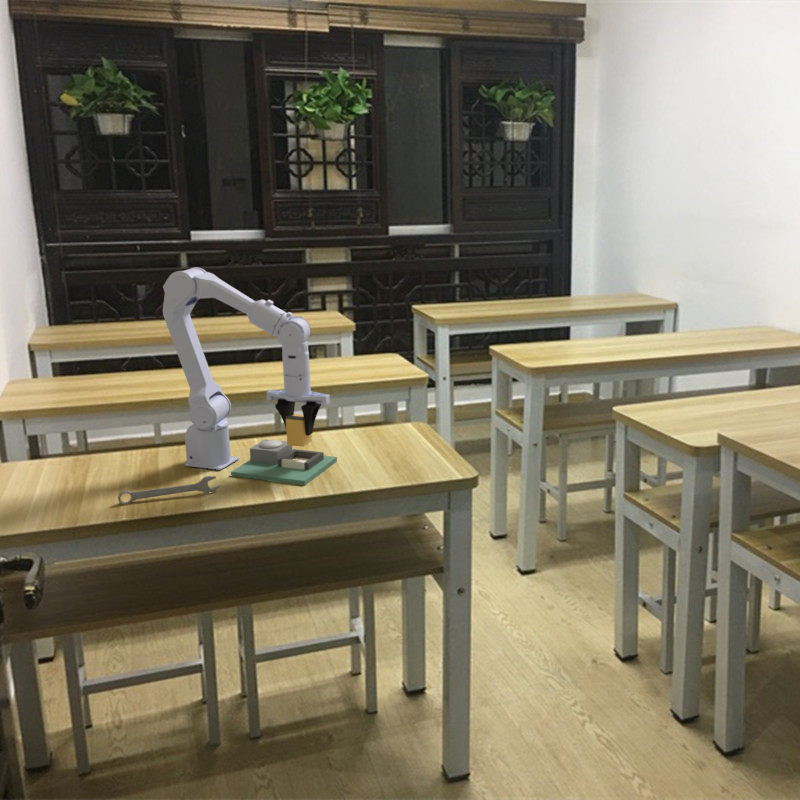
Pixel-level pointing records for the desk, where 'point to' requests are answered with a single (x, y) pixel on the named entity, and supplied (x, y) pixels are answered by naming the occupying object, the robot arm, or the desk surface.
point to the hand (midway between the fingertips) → (299, 433)
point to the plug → (296, 431)
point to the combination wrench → (170, 490)
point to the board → (283, 463)
